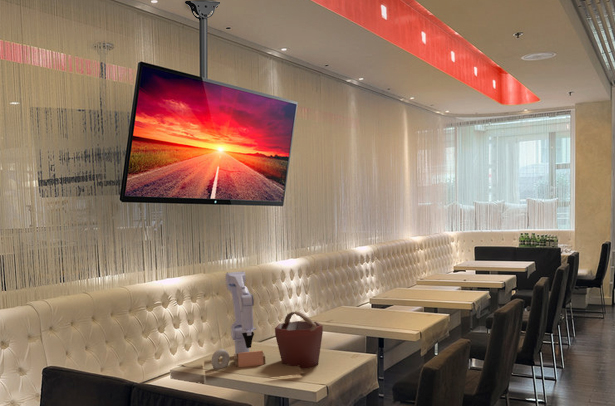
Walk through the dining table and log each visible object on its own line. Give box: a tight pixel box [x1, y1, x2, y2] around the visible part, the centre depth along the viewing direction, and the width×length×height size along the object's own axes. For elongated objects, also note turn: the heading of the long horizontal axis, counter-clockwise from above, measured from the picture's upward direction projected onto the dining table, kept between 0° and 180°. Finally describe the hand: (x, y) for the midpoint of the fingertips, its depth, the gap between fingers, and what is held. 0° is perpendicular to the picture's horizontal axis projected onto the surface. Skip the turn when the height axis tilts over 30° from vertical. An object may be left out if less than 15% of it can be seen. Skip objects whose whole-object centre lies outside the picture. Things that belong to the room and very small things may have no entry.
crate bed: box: [233, 352, 266, 368], centre depth 283 cm, size 11×14×5 cm
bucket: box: [274, 311, 324, 370], centre depth 280 cm, size 24×22×25 cm
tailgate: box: [237, 350, 265, 368], centre depth 277 cm, size 1×12×7 cm, turn 102°
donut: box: [210, 348, 230, 370], centre depth 277 cm, size 10×4×10 cm, turn 137°
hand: (248, 347), depth 284 cm, fingers closed
